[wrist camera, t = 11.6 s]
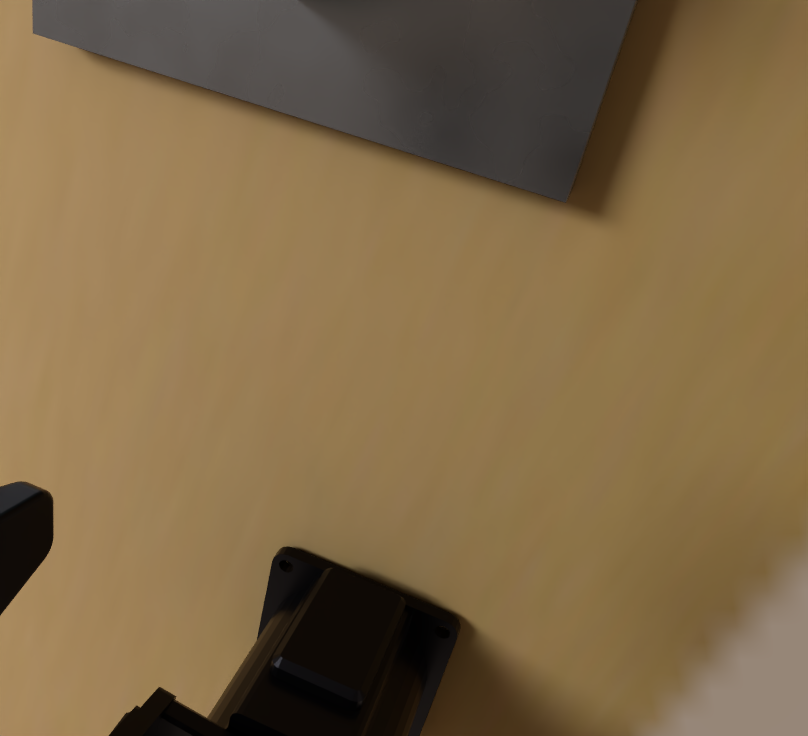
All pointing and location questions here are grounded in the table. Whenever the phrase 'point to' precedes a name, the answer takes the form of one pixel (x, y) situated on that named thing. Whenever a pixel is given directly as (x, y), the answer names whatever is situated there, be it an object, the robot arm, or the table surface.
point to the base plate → (387, 69)
